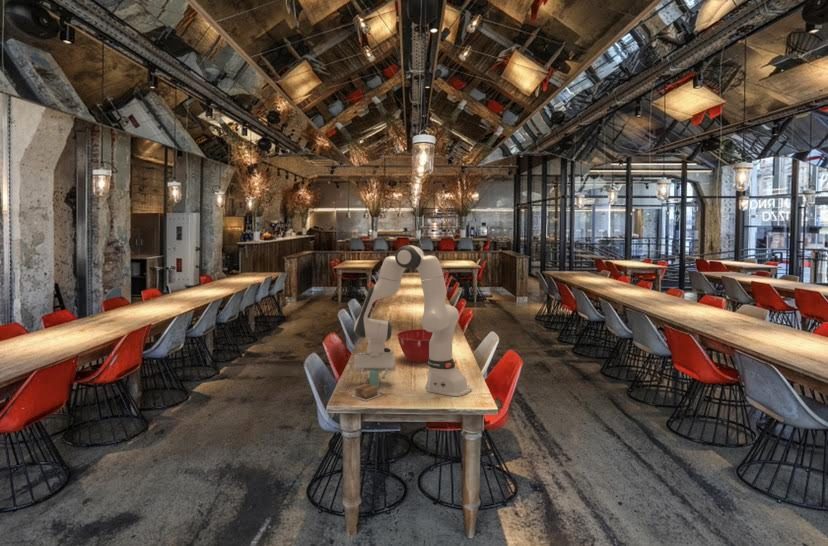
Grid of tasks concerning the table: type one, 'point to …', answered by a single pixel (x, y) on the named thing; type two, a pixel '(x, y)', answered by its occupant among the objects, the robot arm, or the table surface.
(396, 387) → the table surface
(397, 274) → the robot arm
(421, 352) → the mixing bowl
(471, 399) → the table surface
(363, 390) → the base block
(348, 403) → the table surface
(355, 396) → the board
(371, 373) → the pillar
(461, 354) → the table surface
